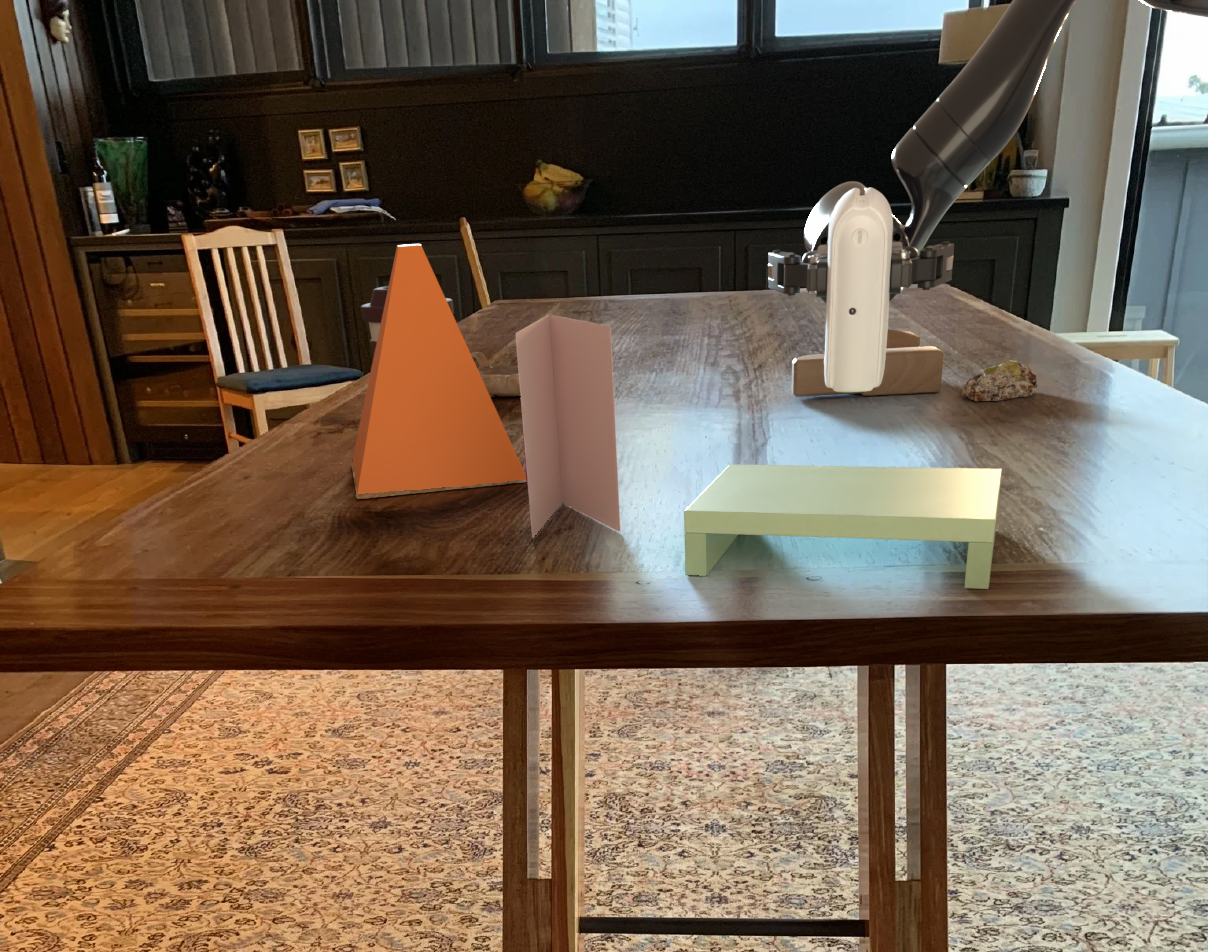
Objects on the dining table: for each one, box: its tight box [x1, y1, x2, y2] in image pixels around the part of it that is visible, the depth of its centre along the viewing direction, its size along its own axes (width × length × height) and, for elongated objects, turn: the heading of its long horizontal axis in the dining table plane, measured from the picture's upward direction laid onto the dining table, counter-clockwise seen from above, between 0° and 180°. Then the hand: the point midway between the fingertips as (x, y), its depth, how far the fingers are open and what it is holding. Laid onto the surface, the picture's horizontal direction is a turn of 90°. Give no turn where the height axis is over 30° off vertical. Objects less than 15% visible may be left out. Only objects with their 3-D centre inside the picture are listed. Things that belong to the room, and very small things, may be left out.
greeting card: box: [514, 314, 621, 539], centre depth 93 cm, size 11×7×15 cm, turn 170°
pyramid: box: [352, 243, 527, 494], centre depth 110 cm, size 16×16×20 cm
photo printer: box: [824, 186, 893, 392], centre depth 83 cm, size 10×4×12 cm, turn 169°
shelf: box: [683, 464, 1003, 590], centre depth 84 cm, size 20×14×4 cm
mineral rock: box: [961, 359, 1038, 402], centre depth 136 cm, size 11×4×8 cm
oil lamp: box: [470, 351, 521, 397], centre depth 153 cm, size 13×8×5 cm, turn 43°
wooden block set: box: [791, 328, 944, 398], centre depth 145 cm, size 17×6×18 cm
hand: (858, 278), depth 80 cm, fingers closed on photo printer, 4 cm apart
